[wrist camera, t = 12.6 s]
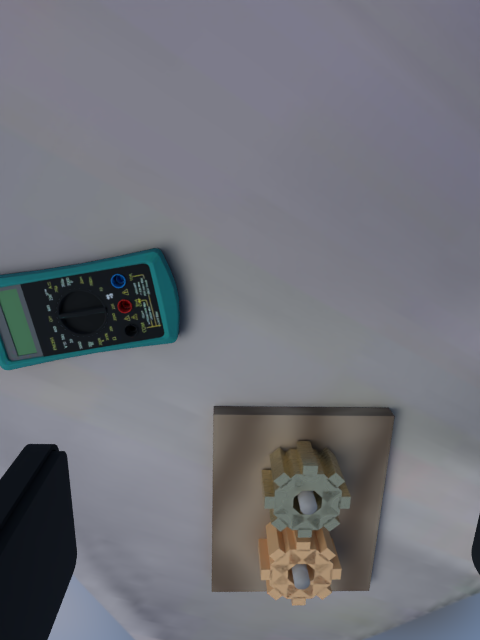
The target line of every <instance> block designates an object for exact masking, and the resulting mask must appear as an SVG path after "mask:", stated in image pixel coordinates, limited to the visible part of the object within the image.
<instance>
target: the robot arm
mask: <svg viewBox="0 0 480 640" xmlns="http://www.w3.org/2000/svg"><path fill="white" fill-rule="evenodd" d="M76 559H77V547H76V538H75V528H74V518H73V509H72V499H71V489H70V480H69V470H68V461H67V454H66V452H65V451H59V449H58V447H57V445H55V444H28V445H26V446H25V447H24V449H23V450H22V451H21V453H20V454H19V455H18V457H17V458H16V459H15V461H14V462H13V463H12V465H11V466H10V467H9V469H8V470H7V471H6V473H5V474H4V475H3V477H2V478H1V479H0V640H47V639H48V637H49V634H50V632H51V629H52V626H53V624H54V621H55V619H56V616H57V613H58V611H59V608H60V605H61V603H62V600H63V598H64V595H65V593H66V590H67V587H68V585H69V582H70V580H71V577H72V575H73V572H74V569H75V565H76ZM472 560H473V563H474V566H475V568H476V570H477V571H478V573H479V574H480V515H479V519H478V524H477V528H476V532H475V537H474V541H473V546H472Z"/></svg>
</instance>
